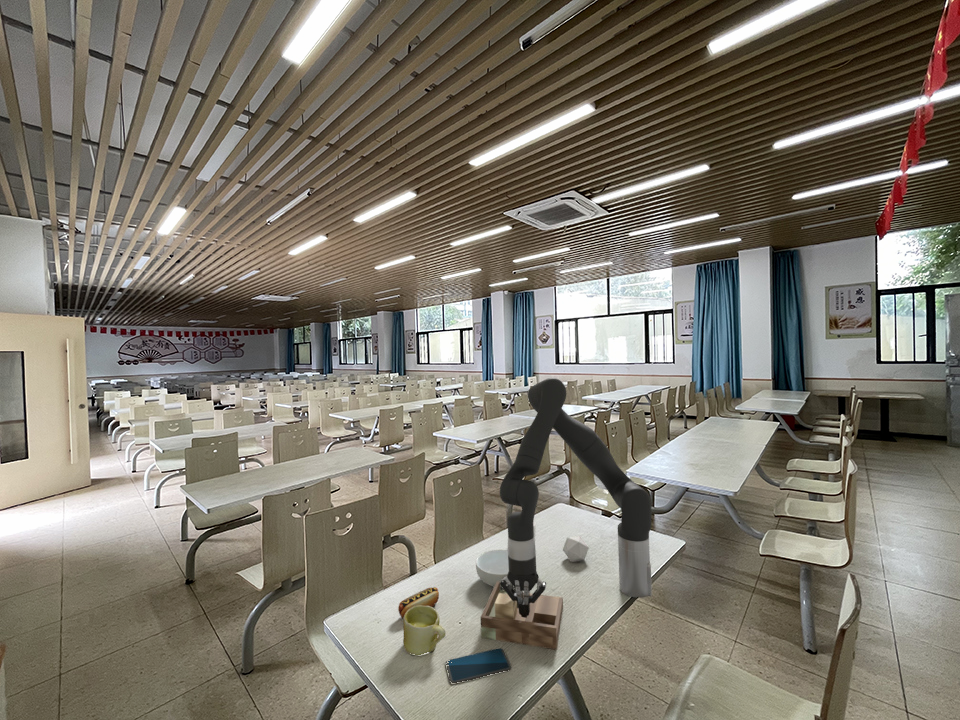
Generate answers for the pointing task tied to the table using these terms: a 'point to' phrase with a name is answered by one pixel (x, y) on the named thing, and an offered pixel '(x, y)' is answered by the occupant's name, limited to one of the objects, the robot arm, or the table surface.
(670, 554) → the table surface
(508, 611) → the maple block
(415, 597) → the hot dog
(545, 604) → the box
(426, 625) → the mug
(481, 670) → the smartphone
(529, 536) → the robot arm
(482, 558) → the cereal bowl
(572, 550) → the die
